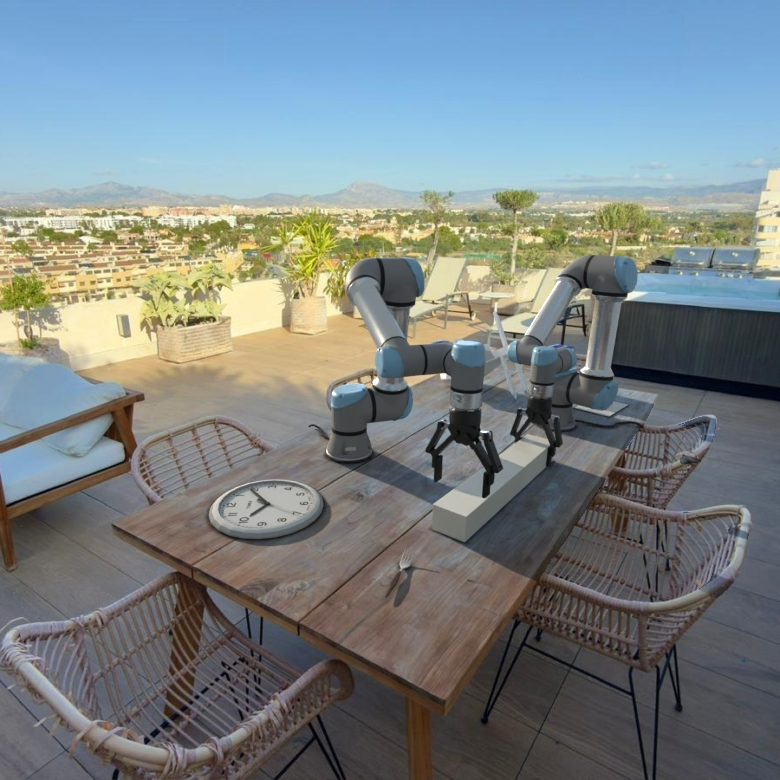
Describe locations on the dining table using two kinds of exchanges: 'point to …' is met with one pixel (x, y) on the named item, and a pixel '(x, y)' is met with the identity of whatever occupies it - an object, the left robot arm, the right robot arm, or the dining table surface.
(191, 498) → the dining table surface
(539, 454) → the off-white long beam
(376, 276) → the left robot arm
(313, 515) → the wall clock
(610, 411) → the invitation card
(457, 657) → the dining table surface
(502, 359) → the white plastic object
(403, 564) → the fork
